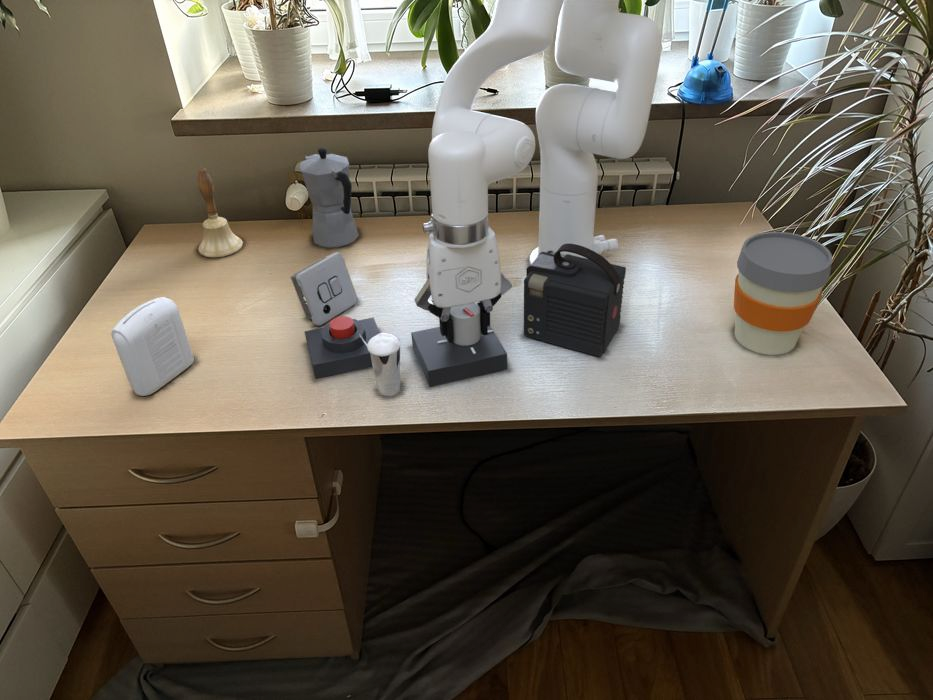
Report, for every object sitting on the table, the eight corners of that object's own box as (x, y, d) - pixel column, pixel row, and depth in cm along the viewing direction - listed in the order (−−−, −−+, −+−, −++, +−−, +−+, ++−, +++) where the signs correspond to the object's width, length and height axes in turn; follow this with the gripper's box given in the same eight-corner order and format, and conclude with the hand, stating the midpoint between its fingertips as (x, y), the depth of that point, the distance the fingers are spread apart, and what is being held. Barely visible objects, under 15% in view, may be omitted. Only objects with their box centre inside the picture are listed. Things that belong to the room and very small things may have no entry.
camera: (544, 302, 125) (547, 221, 116) (624, 322, 119) (634, 239, 110) (517, 337, 117) (517, 253, 108) (602, 360, 112) (610, 274, 103)
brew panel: (485, 331, 119) (484, 314, 117) (507, 369, 111) (507, 352, 109) (411, 346, 116) (410, 330, 114) (429, 387, 108) (427, 370, 106)
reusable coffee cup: (808, 369, 108) (835, 281, 99) (718, 353, 112) (737, 267, 103) (808, 321, 118) (833, 237, 109) (726, 308, 121) (743, 226, 112)
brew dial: (444, 334, 113) (442, 305, 110) (470, 324, 115) (469, 295, 112) (460, 349, 110) (459, 320, 107) (486, 339, 112) (486, 309, 109)
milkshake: (368, 380, 110) (360, 325, 104) (404, 378, 110) (398, 322, 104) (367, 401, 106) (359, 345, 100) (405, 398, 106) (399, 342, 100)
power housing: (375, 330, 120) (372, 307, 117) (387, 363, 113) (384, 339, 110) (307, 344, 117) (302, 321, 115) (315, 379, 111) (310, 355, 108)
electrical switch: (318, 329, 121) (305, 278, 116) (297, 320, 124) (284, 271, 119) (359, 303, 127) (348, 253, 121) (338, 295, 129) (327, 247, 124)
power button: (352, 323, 114) (351, 314, 113) (357, 336, 112) (355, 327, 111) (329, 328, 114) (327, 318, 113) (333, 341, 111) (331, 332, 110)
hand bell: (235, 232, 148) (216, 156, 138) (248, 249, 142) (229, 171, 133) (193, 244, 145) (171, 166, 135) (205, 262, 139) (183, 182, 129)
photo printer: (179, 353, 117) (157, 286, 109) (199, 361, 115) (178, 293, 108) (127, 392, 110) (99, 323, 102) (148, 400, 108) (121, 331, 100)
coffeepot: (298, 232, 147) (281, 144, 136) (340, 217, 152) (327, 131, 141) (336, 262, 137) (322, 170, 126) (380, 246, 142) (369, 156, 131)
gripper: (406, 249, 96) (417, 360, 108) (529, 227, 100) (527, 336, 111) (393, 223, 102) (404, 331, 113) (510, 203, 106) (509, 309, 117)
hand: (465, 332), depth 112 cm, fingers closed on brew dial, 4 cm apart
